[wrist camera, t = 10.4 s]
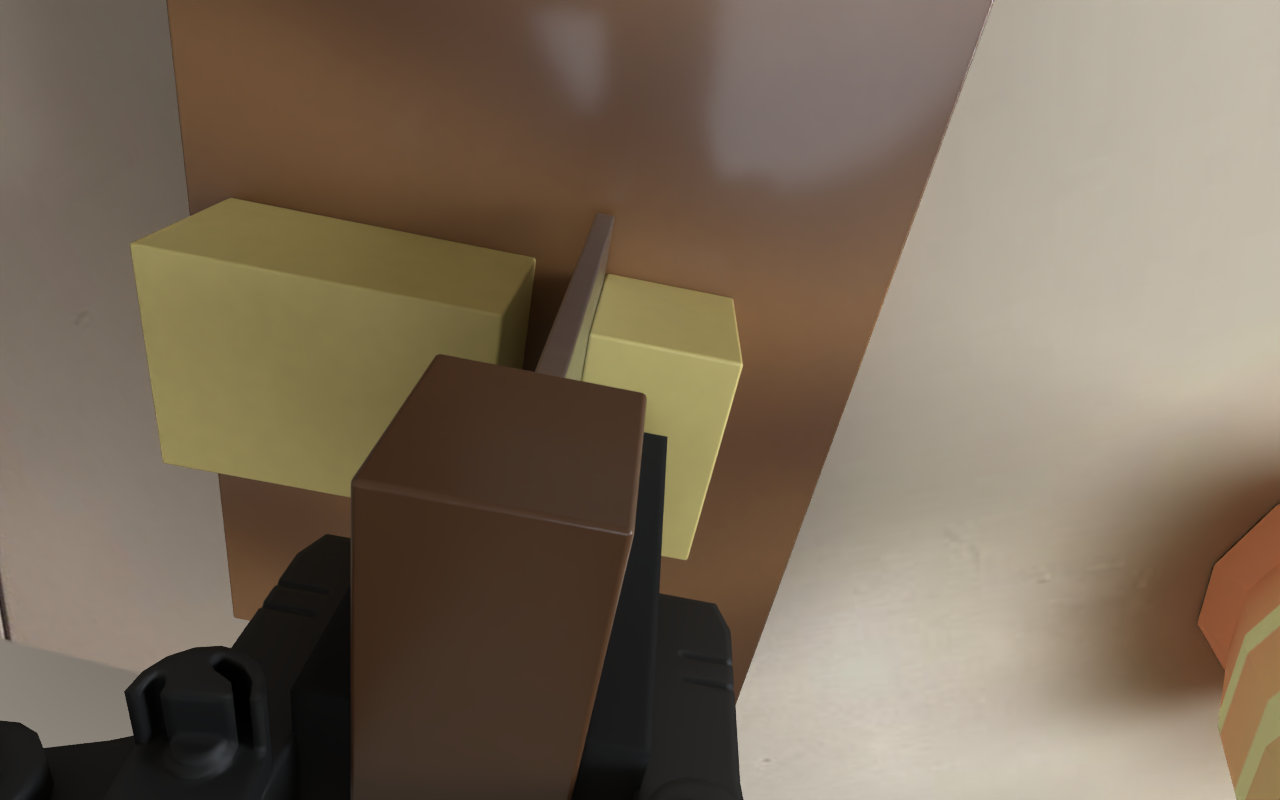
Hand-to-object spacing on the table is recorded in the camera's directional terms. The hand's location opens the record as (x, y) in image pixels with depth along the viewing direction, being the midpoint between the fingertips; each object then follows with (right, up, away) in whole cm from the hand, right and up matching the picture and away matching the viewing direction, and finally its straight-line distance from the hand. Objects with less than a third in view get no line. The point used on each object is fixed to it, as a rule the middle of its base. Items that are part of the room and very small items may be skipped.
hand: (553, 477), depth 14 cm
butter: (-5, +3, +4) cm, 7 cm away
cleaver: (0, +2, +4) cm, 4 cm away
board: (-1, +3, +5) cm, 6 cm away
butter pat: (+2, +2, +4) cm, 5 cm away
